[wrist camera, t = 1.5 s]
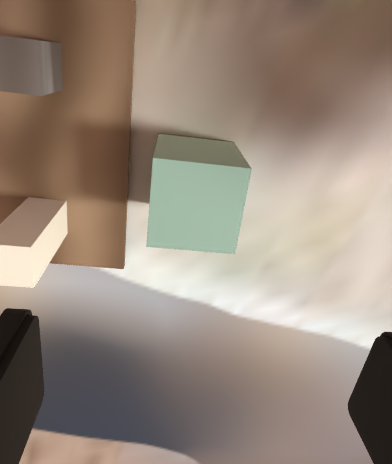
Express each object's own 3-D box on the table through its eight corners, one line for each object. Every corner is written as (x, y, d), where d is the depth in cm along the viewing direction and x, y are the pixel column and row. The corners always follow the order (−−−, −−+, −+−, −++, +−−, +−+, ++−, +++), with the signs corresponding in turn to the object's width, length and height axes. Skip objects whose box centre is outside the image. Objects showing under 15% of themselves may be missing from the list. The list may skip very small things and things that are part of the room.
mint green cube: (233, 142, 25) (251, 168, 19) (222, 211, 27) (234, 254, 21) (158, 133, 25) (152, 157, 19) (153, 204, 27) (146, 246, 21)
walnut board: (136, 2, 21) (126, -12, 17) (124, 265, 29) (115, 299, 25) (-63, -28, 20) (-125, -50, 16) (-20, 253, 28) (-55, 287, 24)
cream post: (66, 200, 26) (30, 247, 19) (67, 233, 27) (33, 287, 20) (28, 197, 25) (-21, 243, 19) (31, 230, 27) (-14, 284, 20)
